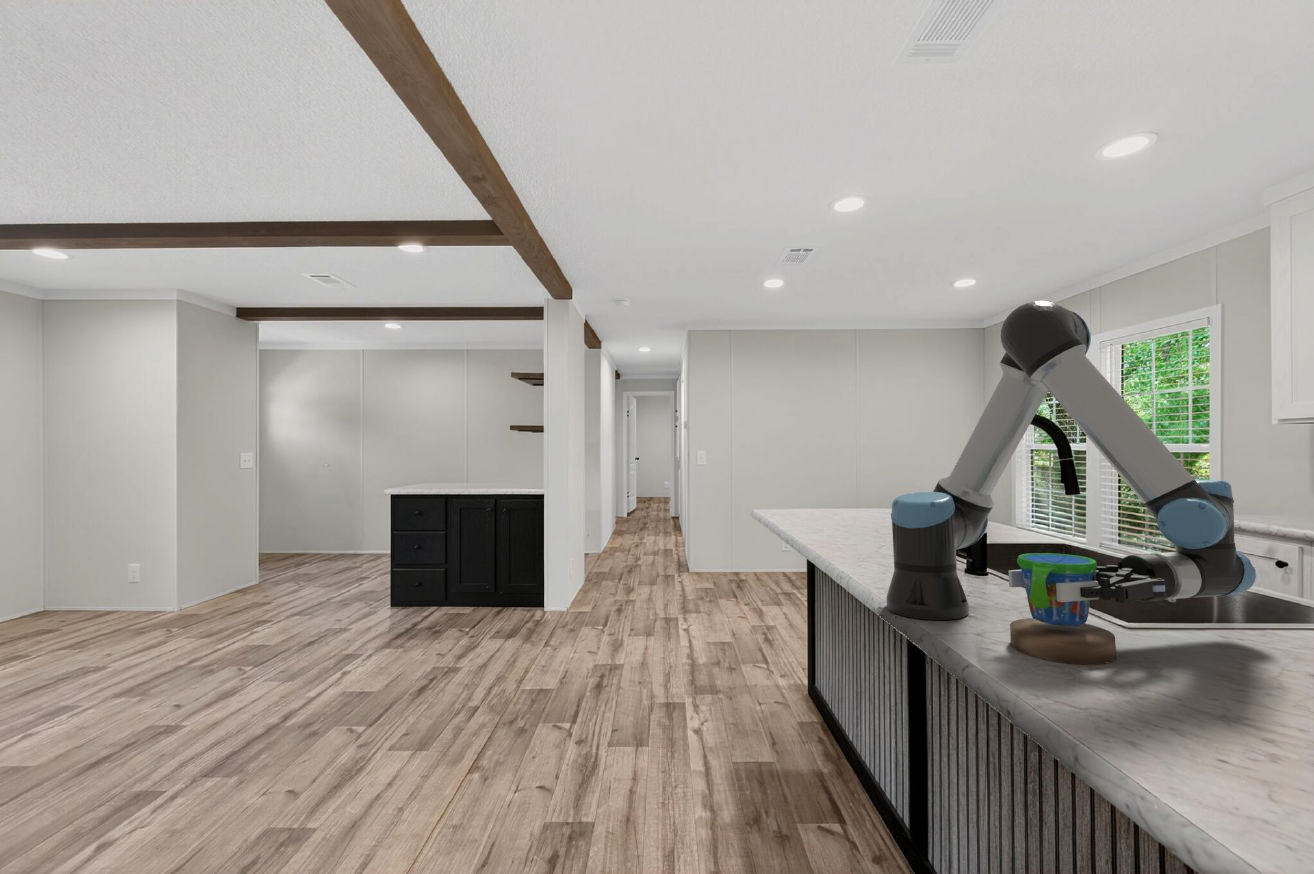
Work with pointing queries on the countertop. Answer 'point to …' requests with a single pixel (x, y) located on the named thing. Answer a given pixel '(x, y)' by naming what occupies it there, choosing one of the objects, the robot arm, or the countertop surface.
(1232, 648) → the countertop surface
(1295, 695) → the countertop surface
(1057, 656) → the walnut pedestal
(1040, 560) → the snack cup
